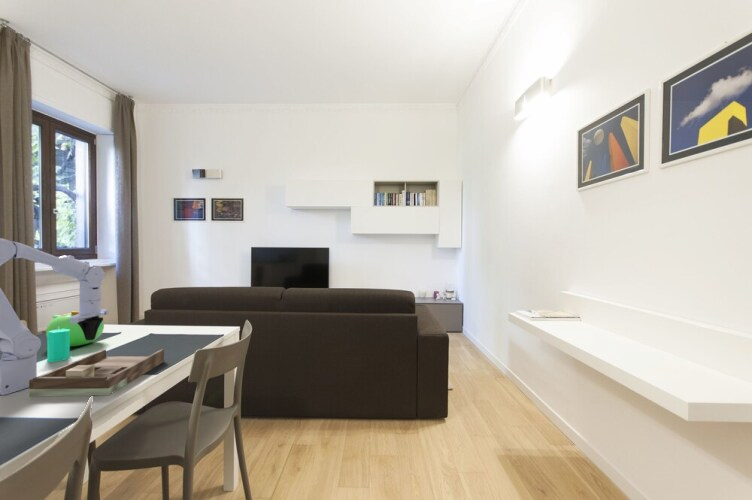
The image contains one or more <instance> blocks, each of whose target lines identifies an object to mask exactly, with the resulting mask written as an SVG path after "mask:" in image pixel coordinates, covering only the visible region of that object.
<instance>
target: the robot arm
mask: <svg viewBox="0 0 752 500" xmlns="http://www.w3.org/2000/svg"><path fill="white" fill-rule="evenodd" d="M11 259H25V260H28V261H32V262H35V263H39V264H43V265H46V266H49V267H51V268H52V270H53V271H54V272H55V273H58V274H62V275H64V276H68V277H70V278H73V279H76V280H77V281H79V311H78V312H79V314H77V315H75V316H73V317H70V323H78V325H79V326H80V327H81V329H82V331H83V333H84V336H85V339H86V340H94V339H95V337H96V333H97V330H98V328H99V326H100V324H101V322H102V321H103V322H104V317H101V316H105V315H106V316H107V315H109V308H102V282H103V280H104V279H105V277H106V273H105V272H104V269H103V268H102V267H101V266H99V265H93V264H92V265H90V262H89V261H87V260H86V261H81V260H78V259H77V258H75V256H73V255H65V254H64V255H61V256H56V255H53V254H50V253H48V252H45V251H42V250H40V249H37V248H35V247H33V246H29V245H27V244H24V243H21V242H18V241H11V240H8V239H6V238H0V267H1V266H2V265H3V264H5V263H6V262H7V261H10V260H11ZM94 341H95V340H94ZM41 346H42V340H41V339H40V337H38V336H37V335H35V334H33V333H32V332H31V330H30V329H29V327H27V326H25V325H24V324H23V323H22V321H21V320H20V318H19V315H17V313H16V312H15V310H14V308H13V306H12V304H11V303H10V301H9V300H8V298H7V296H6V294H5V293H4V291H3V289H2V288H1V287H0V352H2V355H1V359H0V395H2V396H6V395H9V394H12V393H16V392H19V391H21V390H24V389H29V380H31V379H33V378H35V377H38V376H37V374H38V373H37V367H38V366H37V364H38V363H37V362H38V361H37V359H38V358H37V356H38V355H37V354H38V353H37V352H38V351H40V349H41Z"/></svg>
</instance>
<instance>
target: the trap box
mask: <svg viewBox="0 0 752 500" xmlns="http://www.w3.org/2000/svg"><path fill="white" fill-rule="evenodd" d="M164 356H165V349H164V348H163V349H159V350H157V351H155V352H153V353H151V354H150V355H148V356H146V355H145V356H142V355H141V356H140V355H139V356H133V355H132V356H131V355H130V356H123V355H122V356H107V349H101V350H99V351H96V352H94V353H92V354H90V355H87V356H84V357H82V358H80V359H77V360H74V361H72V362H70V363H67V364H65V365H63V366H60V367H58V368H56V369H53V370H51V371H48V372H46V373H43V374H41V375H38V376H37V377H35V378H33V379H31V380H29V387H28V397H81V396H83V397H85V396H87V397H92V396H91V395H108V396H110V395H112V394H113V393H115V392H117V391H119V390H120V389H122V388H123V387H125V386H126V385H129V384H130V383H132V382H133V381H135V380H136V379H138V378H139V377H142V376H143V375H145V374H146V373H148V372H149V371H152V370H153V369H154V368H156V367H157V366H159V365H161V364H162V363H164V362H165V360H164V359H165V357H164ZM78 365H94V377H66V370H69V369H71V368H73V367H75V366H78ZM124 385H125V386H124ZM121 387H122V388H121ZM119 388H120V389H119ZM116 390H117V391H116ZM114 391H115V392H114ZM112 392H113V393H112ZM111 393H112V394H111ZM109 394H110V395H109Z"/></svg>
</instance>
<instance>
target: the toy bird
mask: <svg viewBox="0 0 752 500" xmlns="http://www.w3.org/2000/svg"><path fill="white" fill-rule="evenodd" d="M77 314H79V311H74V310H73V311H70V312H67V313H63V314H61V315H60V314H53V315H52V318H53V319H52V320H51V321H50V322H49V323H48V325H47V327H46V329H45V335H46V337H47V332H49V331H52V330H57V329H58V326H59V329H70V348H71V347H79V346H83V345H88V344H91V343H92V342H94V341H95V340H97V339H99V337H100V336H102V334H103V332H104V327H105V324H104V320H103V321H102V322H101V324H100V326H99V328H98V330H97V333H96V337H95V339H94V340H86V339H85V336H84V333H83V331H82V329H81V327H80V326H79V325H78V323H70V317H73V316H75V315H77Z"/></svg>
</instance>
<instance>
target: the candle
mask: <svg viewBox="0 0 752 500" xmlns="http://www.w3.org/2000/svg"><path fill="white" fill-rule="evenodd" d="M46 340H47V342H46V343H47V344H46V346H47V348H46V351H47V353H46V355H47V357H46V358H47V359H46V360H47V361H46V362H49V363H55V362H61V361H66V360H68V359H70V353H71V352H70V351H71V349H70V348H71V347H70V329H59V326H58V329H57V330H52V331H49V332H47V336H46Z"/></svg>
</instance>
